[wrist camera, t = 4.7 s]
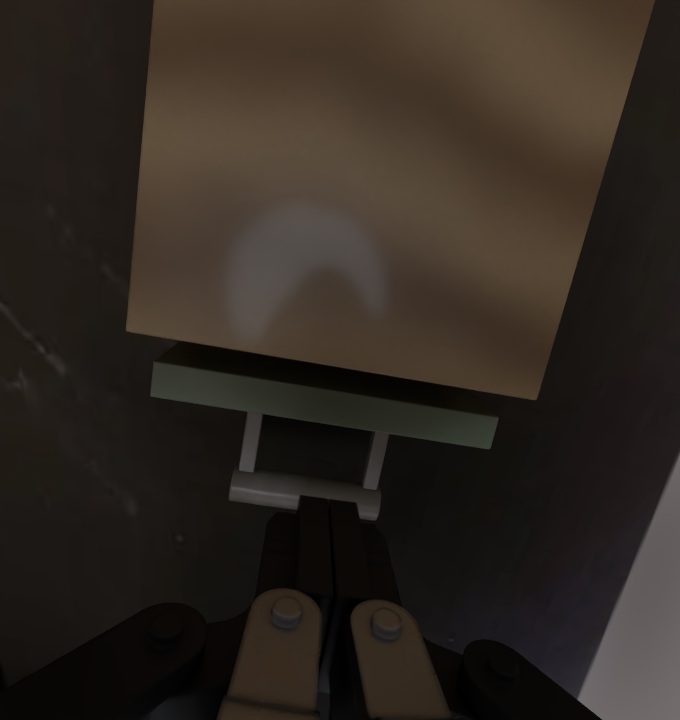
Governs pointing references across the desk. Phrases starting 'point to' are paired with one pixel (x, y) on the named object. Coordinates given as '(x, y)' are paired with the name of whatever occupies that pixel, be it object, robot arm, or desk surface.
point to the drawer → (317, 414)
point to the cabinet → (376, 178)
